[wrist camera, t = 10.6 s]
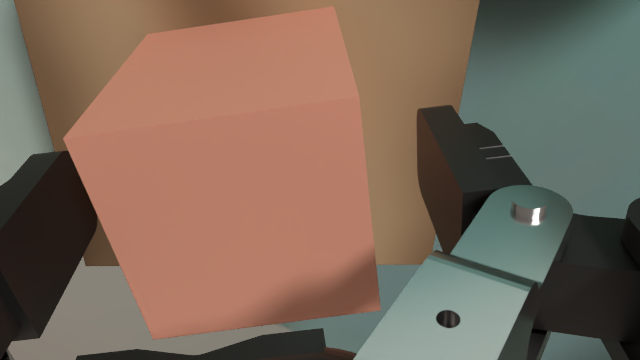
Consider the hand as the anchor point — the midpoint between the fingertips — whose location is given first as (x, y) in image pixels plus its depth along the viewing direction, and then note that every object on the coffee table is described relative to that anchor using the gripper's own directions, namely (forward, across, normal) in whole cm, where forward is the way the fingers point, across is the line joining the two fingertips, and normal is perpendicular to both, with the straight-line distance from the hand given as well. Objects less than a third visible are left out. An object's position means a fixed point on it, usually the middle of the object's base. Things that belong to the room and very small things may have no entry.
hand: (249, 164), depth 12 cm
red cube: (+3, 0, 0) cm, 3 cm away
